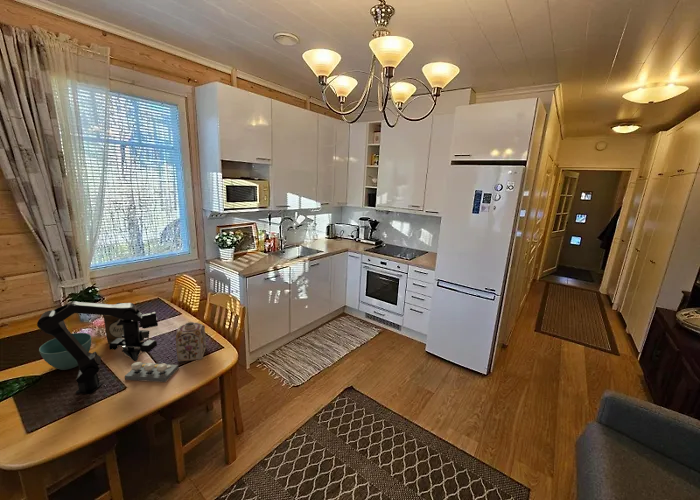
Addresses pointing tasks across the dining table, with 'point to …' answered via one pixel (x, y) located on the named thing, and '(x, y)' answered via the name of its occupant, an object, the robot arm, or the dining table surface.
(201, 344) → the decorative jar
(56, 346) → the teal bowl
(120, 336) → the wooden container
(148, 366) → the button middle
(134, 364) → the button inner
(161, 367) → the white lever knob
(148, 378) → the board
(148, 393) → the dining table surface
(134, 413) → the dining table surface
